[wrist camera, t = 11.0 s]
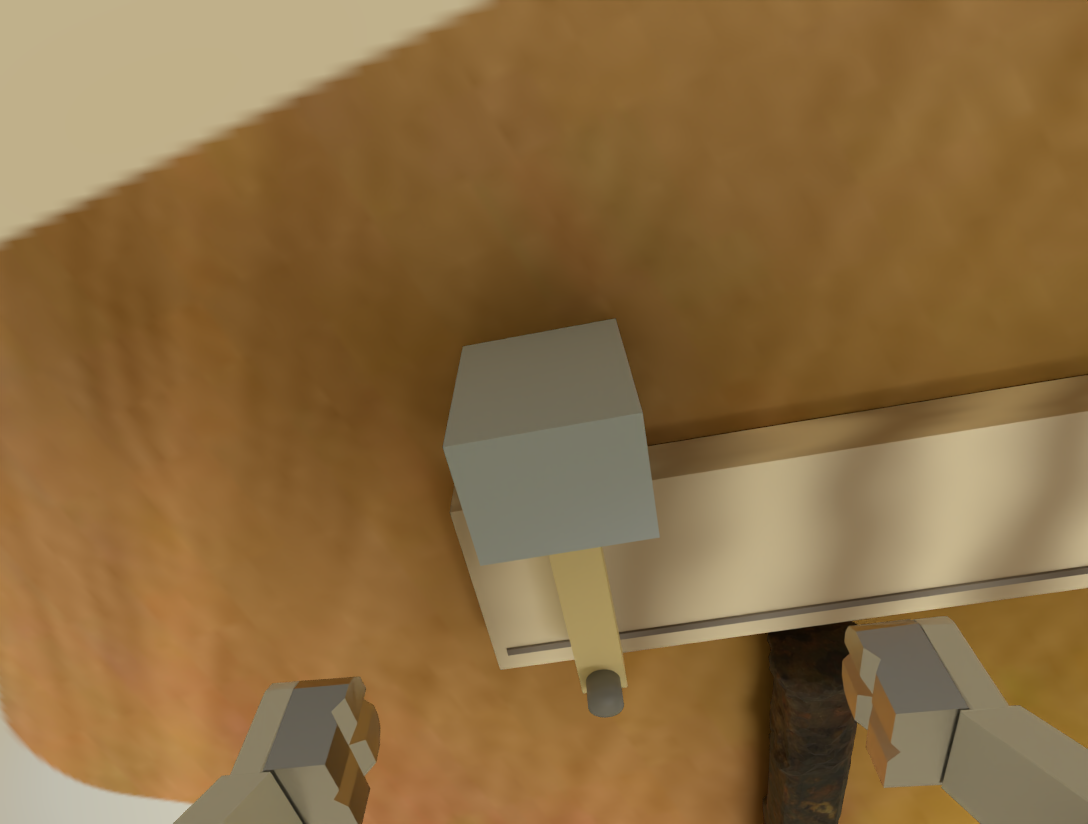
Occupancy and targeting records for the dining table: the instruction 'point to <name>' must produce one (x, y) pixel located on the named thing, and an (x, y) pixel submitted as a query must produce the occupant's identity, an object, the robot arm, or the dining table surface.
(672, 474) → the board
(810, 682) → the rusty railroad spike
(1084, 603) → the dining table surface
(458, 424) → the grey mallet
